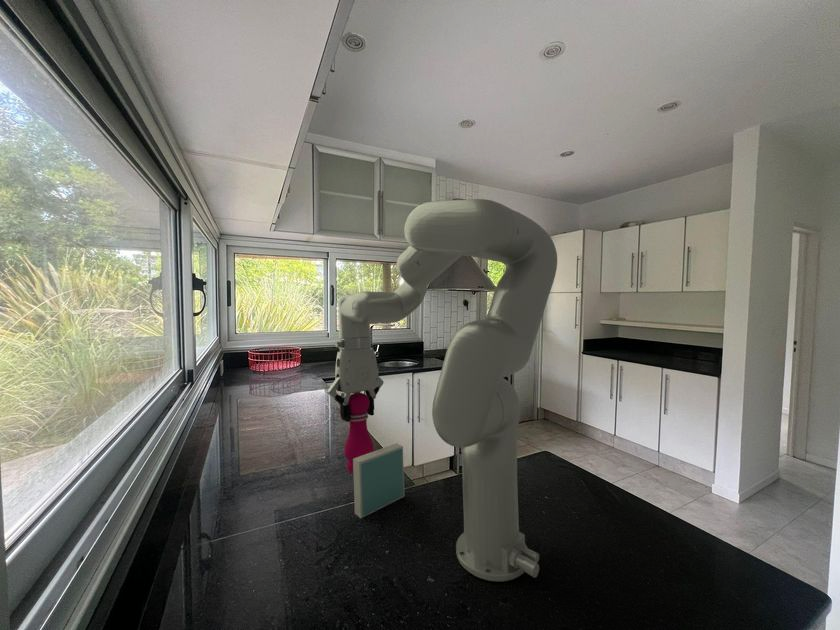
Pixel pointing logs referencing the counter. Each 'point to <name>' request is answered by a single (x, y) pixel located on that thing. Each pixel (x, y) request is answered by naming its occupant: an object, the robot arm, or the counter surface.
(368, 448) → the pepper mill
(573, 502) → the counter surface
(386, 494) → the glazed tile
